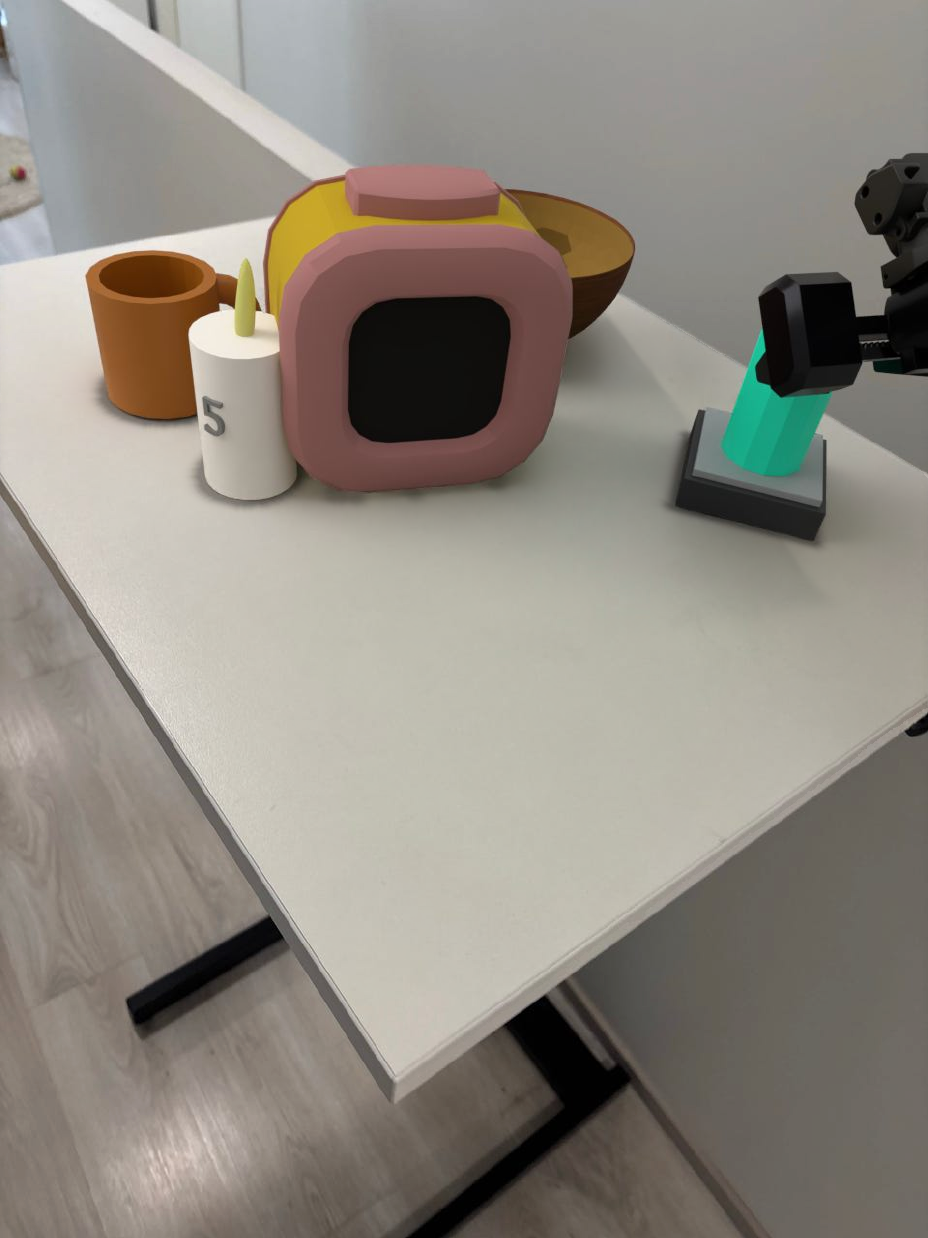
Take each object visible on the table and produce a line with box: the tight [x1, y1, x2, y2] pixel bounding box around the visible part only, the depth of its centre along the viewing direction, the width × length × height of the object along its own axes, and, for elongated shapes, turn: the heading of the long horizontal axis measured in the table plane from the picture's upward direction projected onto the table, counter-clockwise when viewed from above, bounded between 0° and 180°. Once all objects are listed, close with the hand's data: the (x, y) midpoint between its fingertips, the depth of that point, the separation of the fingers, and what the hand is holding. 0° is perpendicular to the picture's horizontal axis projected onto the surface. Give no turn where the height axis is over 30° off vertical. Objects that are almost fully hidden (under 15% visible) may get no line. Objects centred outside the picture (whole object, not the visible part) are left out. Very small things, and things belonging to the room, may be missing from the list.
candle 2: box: [721, 328, 834, 476], centre depth 63 cm, size 6×6×12 cm
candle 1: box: [189, 257, 298, 501], centre depth 58 cm, size 6×6×15 cm
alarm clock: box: [262, 164, 573, 494], centre depth 61 cm, size 18×11×19 cm, turn 105°
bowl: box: [503, 188, 636, 341], centre depth 78 cm, size 18×18×10 cm
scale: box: [674, 406, 828, 542], centre depth 68 cm, size 10×10×3 cm
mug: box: [84, 249, 263, 420], centre depth 67 cm, size 9×12×9 cm
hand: (817, 368), depth 60 cm, fingers open, 9 cm apart
